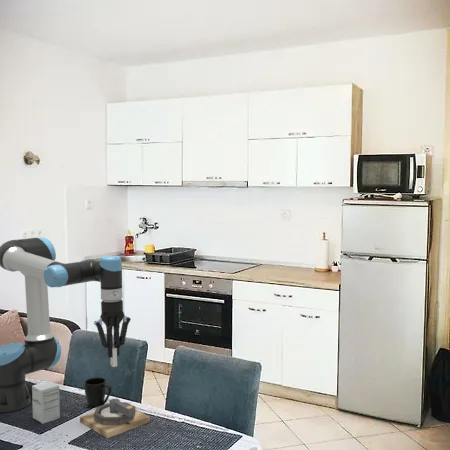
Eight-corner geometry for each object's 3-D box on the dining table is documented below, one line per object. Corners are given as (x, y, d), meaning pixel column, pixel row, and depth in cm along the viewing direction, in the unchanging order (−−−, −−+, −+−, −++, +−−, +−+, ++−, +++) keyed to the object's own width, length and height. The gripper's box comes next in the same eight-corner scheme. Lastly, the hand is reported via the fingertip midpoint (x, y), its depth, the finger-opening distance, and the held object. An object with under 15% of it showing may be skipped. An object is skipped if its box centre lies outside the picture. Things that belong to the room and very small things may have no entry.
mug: (103, 412, 206) (102, 388, 205) (80, 406, 212) (79, 382, 212) (118, 405, 213) (117, 381, 212) (95, 399, 219) (95, 376, 219)
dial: (95, 416, 198) (95, 400, 197) (118, 407, 205) (118, 392, 204) (119, 429, 187) (118, 412, 187) (142, 420, 194) (142, 403, 194)
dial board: (80, 422, 198) (79, 410, 198) (121, 407, 211) (121, 396, 210) (107, 438, 185) (107, 425, 185) (150, 421, 198) (149, 409, 198)
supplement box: (32, 418, 201) (31, 385, 200) (50, 412, 207) (49, 380, 206) (42, 424, 196) (40, 390, 195) (60, 418, 202) (59, 384, 201)
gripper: (97, 304, 185) (99, 372, 186) (133, 299, 192) (135, 365, 193) (90, 300, 191) (92, 366, 193) (125, 296, 198) (127, 359, 200)
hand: (113, 365), depth 193 cm, fingers closed
